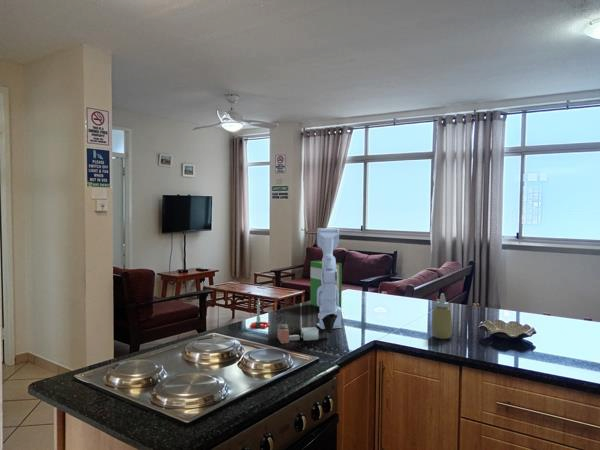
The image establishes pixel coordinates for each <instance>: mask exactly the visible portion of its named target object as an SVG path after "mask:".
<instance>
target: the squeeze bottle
mask: <svg viewBox="0 0 600 450" xmlns="http://www.w3.org/2000/svg"><path fill="white" fill-rule="evenodd" d="M431 322H432V324H431V329H432V333H433V336H434V338H437V339H440V340H446V339H450V337H451V334H452V331H453V319H452V309H451V308H450V307H449V302H447V301H446V296H445V293H440V297H439V301H436V306H435V307H434V308H433V313H432V321H431Z"/></svg>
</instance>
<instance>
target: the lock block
mask: <svg viewBox="0 0 600 450" xmlns="http://www.w3.org/2000/svg"><path fill="white" fill-rule="evenodd" d="M300 338H301V339H303V341H317V340H319V328H317V327H316V326H312V327H311V326H310V327H301V336H300Z"/></svg>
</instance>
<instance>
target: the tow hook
mask: <svg viewBox="0 0 600 450" xmlns="http://www.w3.org/2000/svg"><path fill="white" fill-rule="evenodd" d="M260 302H261V300H260V298H258V299H257V304H256V305H257V307H256V321H255V322H251V323H250V328H251V329H266V328H268V327H270V326H271V323H270V322H267V321H261V303H260Z"/></svg>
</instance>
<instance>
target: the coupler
mask: <svg viewBox="0 0 600 450" xmlns="http://www.w3.org/2000/svg"><path fill="white" fill-rule="evenodd" d="M300 338H301V336H300V335H299V334H292V335H291V334H290V330H289V324H287V323H281V324H280V323H279V324H278V325H277V339H278V340H279V342H280V344H289V343H290V341H300Z"/></svg>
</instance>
